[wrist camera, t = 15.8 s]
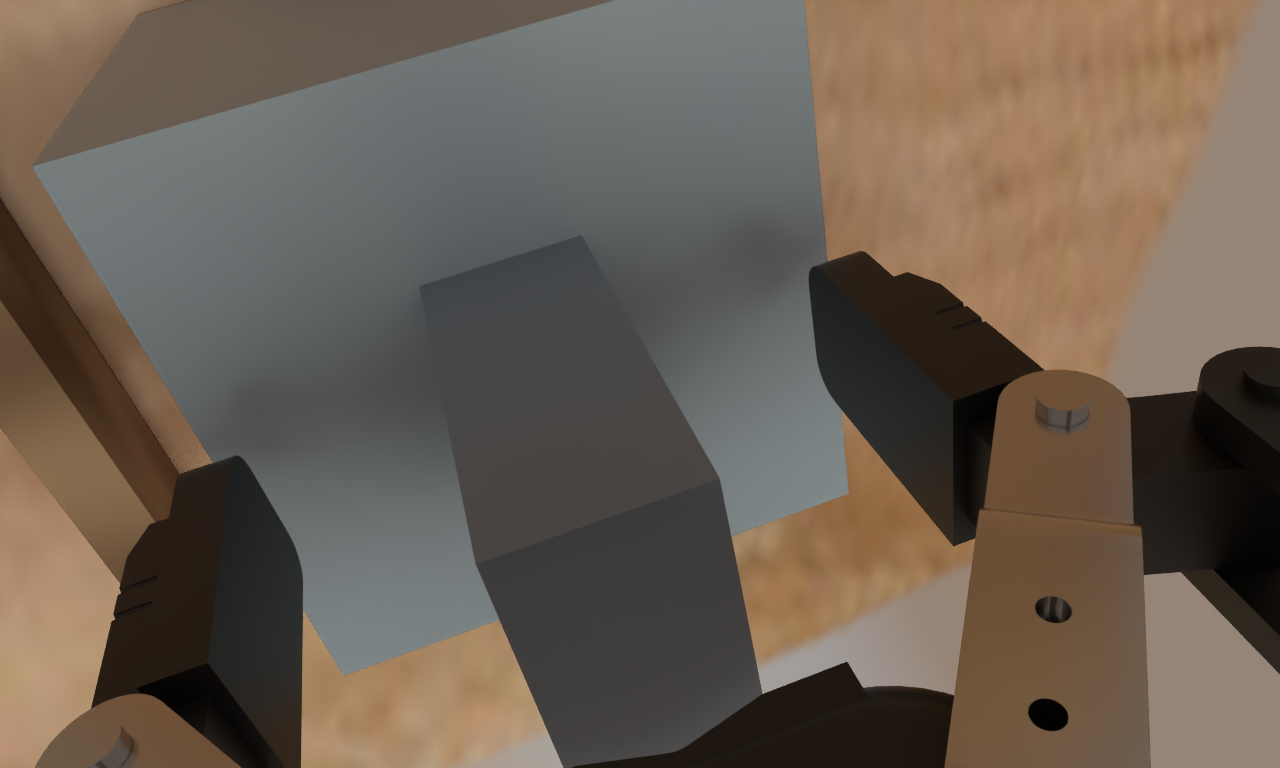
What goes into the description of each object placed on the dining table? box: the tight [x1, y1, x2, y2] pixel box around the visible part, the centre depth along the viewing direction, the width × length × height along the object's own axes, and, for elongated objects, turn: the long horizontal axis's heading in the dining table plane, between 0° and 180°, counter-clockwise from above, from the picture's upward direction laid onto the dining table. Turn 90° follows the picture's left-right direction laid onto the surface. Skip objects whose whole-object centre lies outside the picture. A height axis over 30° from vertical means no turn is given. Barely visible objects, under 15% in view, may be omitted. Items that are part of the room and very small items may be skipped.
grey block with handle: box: [32, 0, 849, 768], centre depth 16 cm, size 10×10×15 cm
